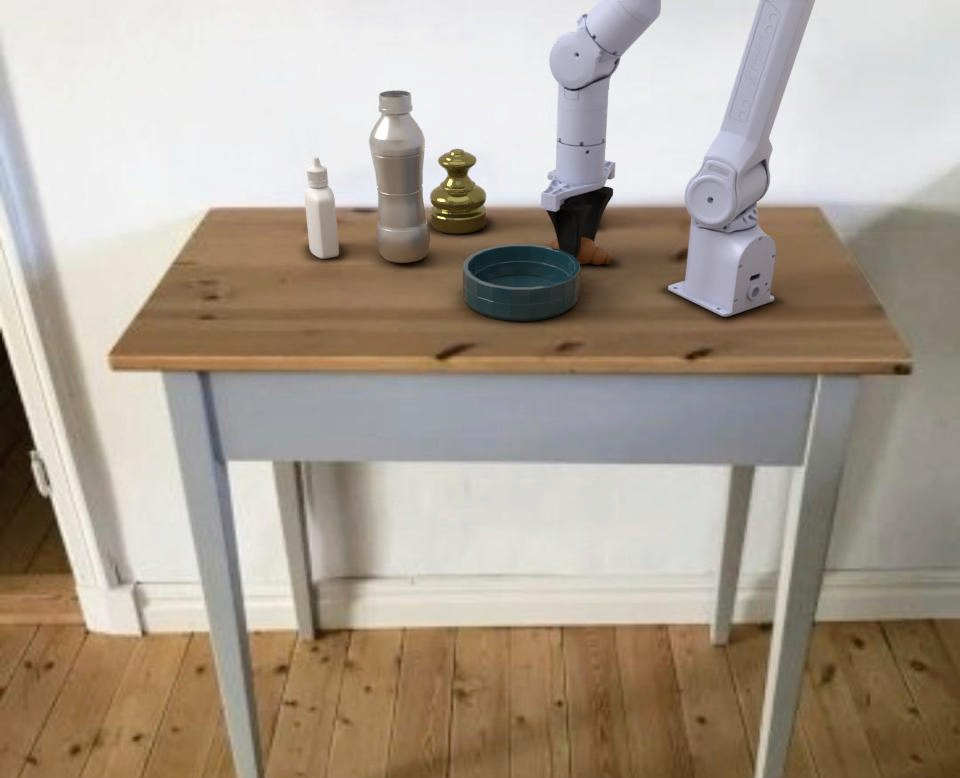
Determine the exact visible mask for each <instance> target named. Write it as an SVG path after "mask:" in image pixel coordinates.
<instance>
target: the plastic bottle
mask: <svg viewBox="0 0 960 778" xmlns="http://www.w3.org/2000/svg"><path fill="white" fill-rule="evenodd" d="M413 107H414V106H413V103H412V92H410V91H407V90H401V89H400V90H399V89H398V90H395V89H394V90H386V91H382V92H380V93H379V94H378V112H379V113H381V114H380V117H379V119H377V121H376V122H375V124H374V126H373V128H372V130H370V135H369V138H368V144H369V150H370V155H371V159H372V164H373V169H374V173H375V181H376V186H377V189H376V190H377V203H378V204H377V224H376V230H375V231H376V233H375V243H376V247H377V250H378V253H379V254H380V255H381V257H382V258H383V259H385V260H386V261H388V262H392V263H398V264H399V263H401V264H402V263H403V264H404V263H414V262H417V261H420V260H422V259H424V258H425V257H426V256H427V254H428V253H429V252H430V251H429V250H430V245H431V244H430V243H431V234H430V229H429V228H430V227H429V224H428V221H427V218H426V217H427V216H426V210H425V205H424V204H425V203H424V194H423V193H424V192H423V191H424V190H423V189H424V188H423V184H424V183H423V182H424V181H423V180H424V178H423V177H424V175H423V174H424V173H423V171H424V161H425V148H426V139H425V136H424V133H423V130H422V129H421V127H420V125H419V124H418V122H416V120H415V119H414V117H413V116H412V115H411V112H412V111H413V110H414V109H413Z"/></svg>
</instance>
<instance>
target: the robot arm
mask: <svg viewBox="0 0 960 778" xmlns="http://www.w3.org/2000/svg"><path fill="white" fill-rule="evenodd" d="M815 2H816V0H759V1H758V4H757V7H756V11H755V14H754V17H753V20H752V24H751V27H750V30H749V33H748V37H747V40H746V43H745V47H744V50H743V53H742V56H741V60H740V63H739V66H738V70H737V73H736V77H735V80H734V83H733V86H732V89H731V92H730V96H729V99H728V102H727V105H726V108H725V112H724V115H723V118H722V122H721V125H720V128H719V131H718V133H717V135H716V136H715V138H714V140H713V141H712V143H711V145H709V147H708V149H707V151H706V152H705V154H704V158H703V160H702V163H701V166H700V167H699V170H698V171H697V172H696V173H695V174H694V175H693V176H692V177H691V178H689V181H688V182H687V184H686V186H685V190H684V205H685V207H686V210H687V213H688V214H689V216H690V217H691V218H690V227H689V236H688V237H689V238H688V248H687V256H686V257H687V258H686V266H685V267H686V268H685V278H684V280H681V281H679V282H676V283H673V284H669V285H668V286H667V291H669V292H672V293H674V294H675V295H677V296H679V297H681V298H684V299H685V300H688V301H689V302H692V303H694V304H696V305H699V306H700V307H702V308H704V309H706V310H708V311H709V312H710V311H711V312H713V313H714V314H715V315H718V316H721V317H724V318H727V317H731V316H733V315H737V314H740V313H742V312H746V311H749V310H752V309H755V308H757V307H760V306H763V305H766V304H769V303H772V302H774V301H775V296H774V295H772V294H771V291H772V286H773V285H772V284H773V278H774V272H775V265H776V258H777V245H776V243H775V240H774V238H773V237H772V236H770V235H768V234H766V232H764V231H763V229H762V228H761V226H760V224H759V211H758V207H757V206H758V202H759V201H761V200H762V199H763V198H764V197H765V195H766V194H767V192H768V190H769V187H770V184H771V171H770V159H771V156H772V153H773V150H774V149H773V145H772V142H771V140H770V136H771V134H772V130H773V128H774V124H775V121H776V118H777V115H778V113H779V109H780V106H781V103H782V100H783V98H784V95H785V91H786V90H787V89H786V88H787V86H788V83H789V79H790V77H791V74H792V71H793V67H794V65H795V62H796V59H797V56H798V53H799V50H800V47H801V44H802V41H803V38H804V35H805V33H806V29H807V27H808V23H809V20H810V17H811V15H812V12H813V9H814V5H815ZM661 10H662V0H598V2H596V4H595V5H594V6H593V7H592V8H591V10H590V11H589V12H588V13H583V14H580V16H579V17H578V18H577V19H576V23H577V27H576V31H568V32H565V33H562V34H560V35H558V36H557V38H556V39H555V42H554V44H553V45H552V47H551V49H550V52H549V57H548V58H549V59H548V63H549V69H550V72H551V74H552V76H553V78H554V80H555V81H556V82H557V109H556V110H557V111H556V112H557V114H556V144H555V145H556V147H555V149H556V150H555V169H553V170H551V171H549V172H548V173H547V180H550V182H549V184H548V186H547V188H545V190H543V191H542V192H541V193H540V209H541V210H545V211H546V213H547V215H548V216H549V218H550V221H551V223H552V225H553V229H554V232H555V235H556V236H555V237H556V240H557V241H558V245H559V249H560V250H562V251H564V252H566V253H568V254H570V255H572V256H574V257H575V258H576V257H577V256H578V254H579V250H580V245H581V238H582V237H585V238H589V239H591V240H592V241H593V242H594V243H595V240H596V236H597V233H598V230H599V227H600V223H601V220H602V217H603V214H604V212H605V211H606V207H607V206H608V204H609V202H610V201H611V199H612V198H613V196H614V188H612V187H611V186H610V187H609V186H606V184H607V181H608V180H612V179H614V178H616V162H615V161H610V160H606V150H607V149H606V147H607V126H608V124H607V123H608V106H609V90H610V81H611V78H612V76H613V75H614V73H615V72H616V71H617V70H618V67H619V65H620V62H621V57H622V56H623V55H624V54H625V53H626V52H627V51H628V50H629V49H630V48H631V47H632V45H634V44H635V42H637V40H638V39H639V38H640V37H641V36H642V35H643V34H644V33H645V32H646V31H647V30H648V29H649V28H650V27H651V26H652V24H653V23H655V21H656V20H657V19H658V18H659V17H660V14H661V12H662V11H661Z"/></svg>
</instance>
